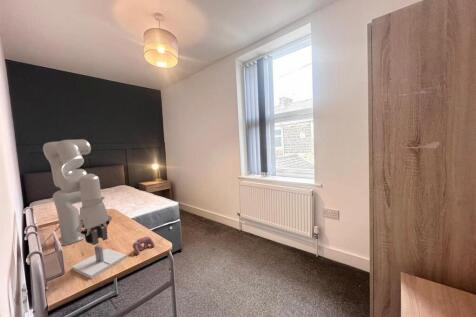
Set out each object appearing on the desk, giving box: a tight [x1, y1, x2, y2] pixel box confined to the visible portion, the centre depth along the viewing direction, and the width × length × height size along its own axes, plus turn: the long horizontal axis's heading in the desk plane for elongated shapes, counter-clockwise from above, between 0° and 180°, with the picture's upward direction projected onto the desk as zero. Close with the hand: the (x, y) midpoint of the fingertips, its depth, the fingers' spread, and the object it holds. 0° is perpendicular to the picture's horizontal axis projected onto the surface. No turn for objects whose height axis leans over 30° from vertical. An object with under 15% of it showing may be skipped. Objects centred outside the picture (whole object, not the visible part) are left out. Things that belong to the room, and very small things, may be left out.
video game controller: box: [132, 236, 155, 255], centre depth 106 cm, size 10×5×7 cm, turn 141°
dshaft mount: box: [71, 244, 127, 279], centre depth 95 cm, size 16×16×8 cm
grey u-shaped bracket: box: [86, 225, 109, 246], centre depth 93 cm, size 6×6×6 cm
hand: (97, 238), depth 94 cm, fingers closed on grey u-shaped bracket, 6 cm apart
